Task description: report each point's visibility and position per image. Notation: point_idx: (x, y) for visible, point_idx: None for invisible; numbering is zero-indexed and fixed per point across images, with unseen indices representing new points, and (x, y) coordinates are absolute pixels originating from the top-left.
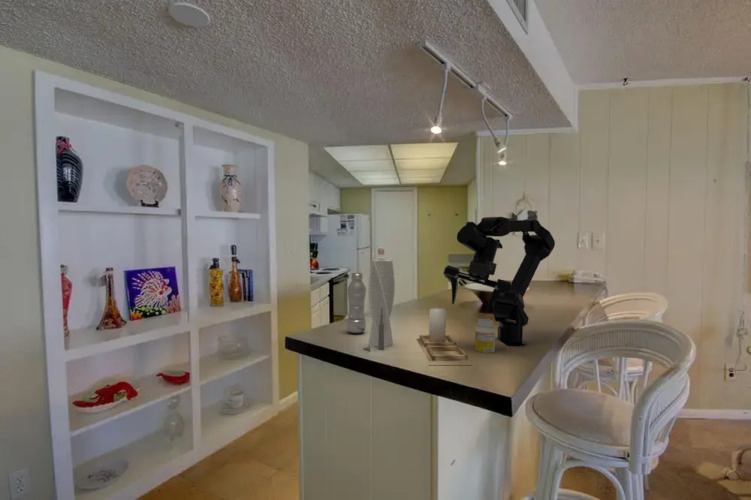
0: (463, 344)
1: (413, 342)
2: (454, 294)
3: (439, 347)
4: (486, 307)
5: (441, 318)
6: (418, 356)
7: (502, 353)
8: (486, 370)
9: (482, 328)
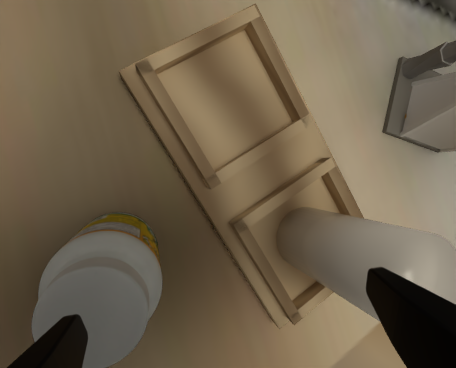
0: (229, 328)
1: None
2: (453, 323)
3: (270, 137)
4: (43, 359)
5: (356, 241)
6: (309, 97)
7: None
8: (53, 47)
9: (108, 251)
